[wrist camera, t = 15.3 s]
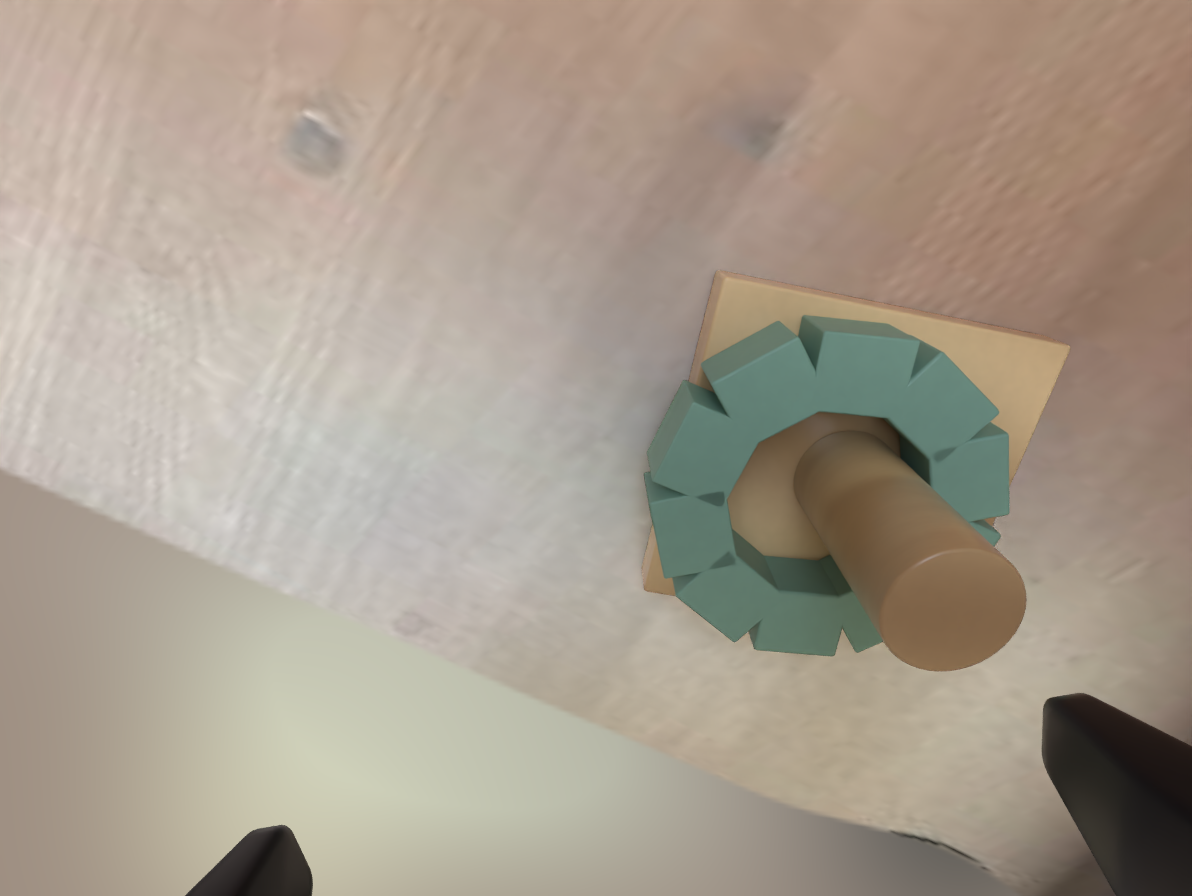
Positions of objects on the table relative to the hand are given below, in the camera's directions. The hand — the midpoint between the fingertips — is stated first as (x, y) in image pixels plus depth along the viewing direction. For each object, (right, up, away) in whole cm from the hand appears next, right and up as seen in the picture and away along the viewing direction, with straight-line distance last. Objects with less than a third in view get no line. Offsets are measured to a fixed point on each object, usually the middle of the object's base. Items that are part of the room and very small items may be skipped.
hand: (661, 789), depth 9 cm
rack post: (+6, +4, +11) cm, 13 cm away
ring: (+5, +3, +10) cm, 11 cm away
